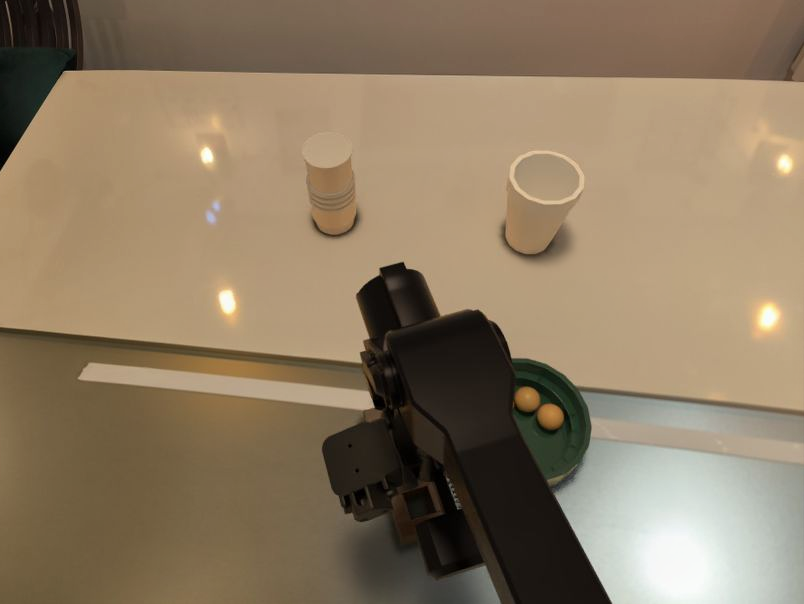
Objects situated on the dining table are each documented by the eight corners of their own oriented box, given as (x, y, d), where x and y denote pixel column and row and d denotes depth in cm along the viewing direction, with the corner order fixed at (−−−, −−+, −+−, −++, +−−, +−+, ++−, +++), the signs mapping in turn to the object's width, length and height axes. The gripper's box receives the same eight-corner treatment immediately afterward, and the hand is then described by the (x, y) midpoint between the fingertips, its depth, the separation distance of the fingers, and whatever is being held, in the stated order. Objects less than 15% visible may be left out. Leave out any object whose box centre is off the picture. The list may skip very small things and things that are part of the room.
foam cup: (538, 274, 85) (560, 216, 74) (482, 241, 89) (495, 182, 78) (572, 231, 89) (597, 170, 78) (516, 202, 93) (533, 140, 82)
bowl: (602, 471, 69) (615, 458, 65) (485, 507, 68) (492, 497, 64) (545, 362, 77) (554, 344, 73) (440, 392, 76) (443, 376, 72)
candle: (363, 207, 94) (360, 136, 82) (348, 241, 90) (342, 173, 78) (322, 197, 96) (312, 126, 83) (306, 231, 92) (293, 162, 80)
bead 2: (571, 419, 69) (557, 439, 70) (565, 406, 72) (552, 426, 73) (548, 406, 69) (534, 427, 70) (543, 394, 72) (530, 414, 73)
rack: (451, 530, 67) (454, 522, 64) (401, 545, 66) (402, 538, 63) (408, 409, 75) (409, 397, 72) (363, 422, 74) (362, 410, 71)
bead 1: (516, 397, 71) (519, 378, 73) (509, 412, 73) (513, 392, 75) (541, 406, 70) (545, 386, 72) (534, 420, 72) (537, 401, 74)
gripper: (298, 340, 50) (317, 409, 62) (364, 590, 39) (370, 612, 52) (428, 305, 51) (419, 380, 63) (526, 538, 40) (492, 572, 53)
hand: (422, 476), depth 58 cm, fingers open, 9 cm apart
